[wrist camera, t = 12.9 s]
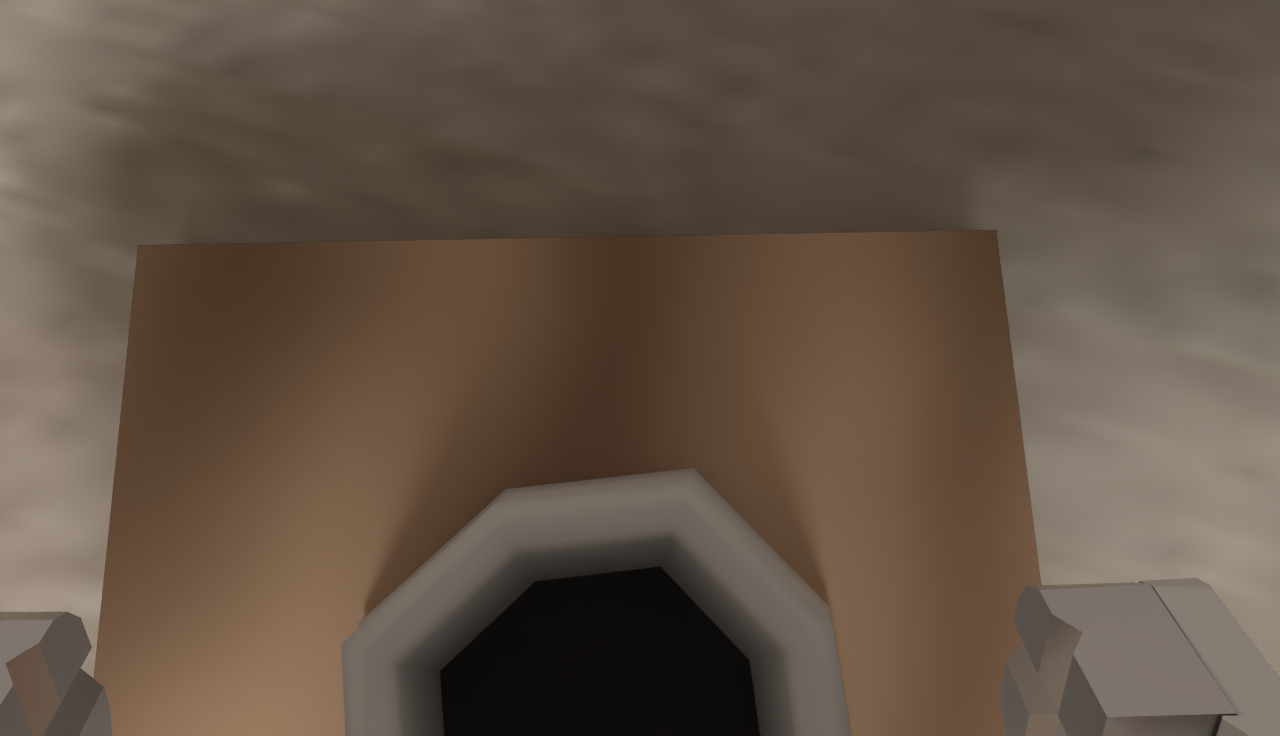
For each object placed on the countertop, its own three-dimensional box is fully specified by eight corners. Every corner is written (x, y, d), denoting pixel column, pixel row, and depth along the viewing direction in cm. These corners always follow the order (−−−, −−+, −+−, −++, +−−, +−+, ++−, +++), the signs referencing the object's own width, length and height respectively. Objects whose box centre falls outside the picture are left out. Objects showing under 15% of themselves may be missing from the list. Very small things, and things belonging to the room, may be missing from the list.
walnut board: (968, 263, 20) (996, 230, 19) (1086, 1257, 16) (1133, 1313, 14) (172, 278, 20) (137, 245, 18) (77, 1304, 15) (23, 1367, 14)
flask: (282, 594, 17) (-160, 454, 7) (718, 395, 18) (844, 40, 8) (473, 1096, 15) (226, 1808, 5) (945, 844, 16) (1446, 1063, 6)
